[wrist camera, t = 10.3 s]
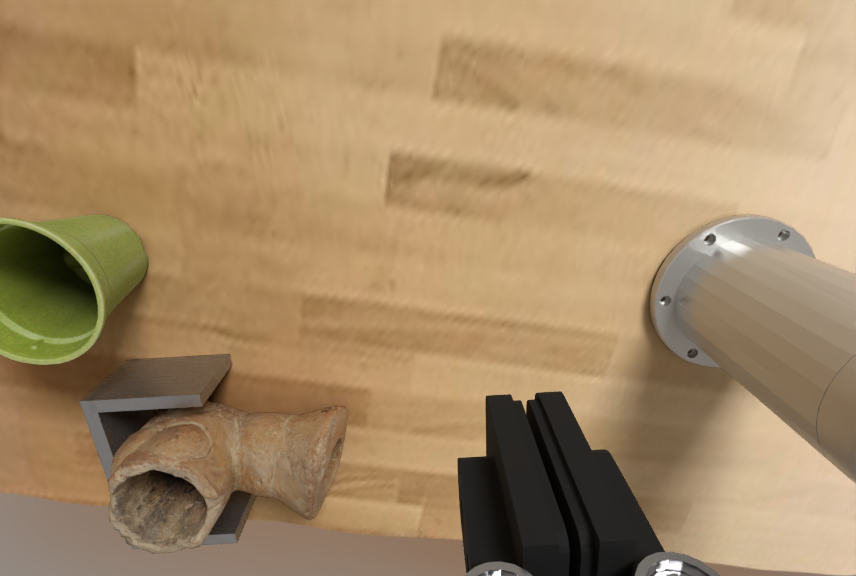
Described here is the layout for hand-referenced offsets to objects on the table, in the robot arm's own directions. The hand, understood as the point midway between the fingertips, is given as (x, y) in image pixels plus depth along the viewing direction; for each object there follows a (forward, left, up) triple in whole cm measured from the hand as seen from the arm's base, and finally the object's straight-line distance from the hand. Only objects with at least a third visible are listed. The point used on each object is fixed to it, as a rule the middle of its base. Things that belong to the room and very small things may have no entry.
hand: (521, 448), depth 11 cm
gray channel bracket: (+23, +18, -27) cm, 40 cm away
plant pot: (+26, +2, -27) cm, 38 cm away
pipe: (+18, +18, -27) cm, 37 cm away
